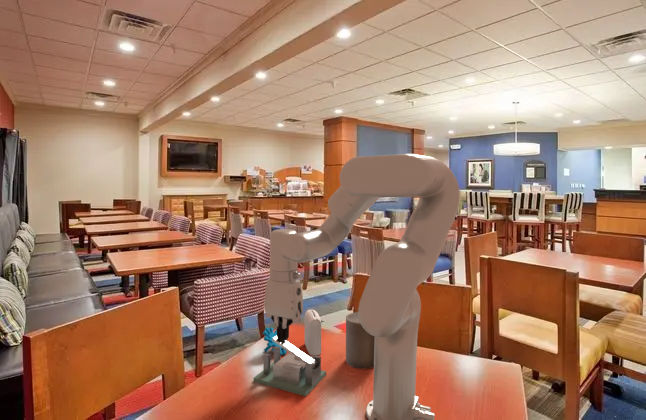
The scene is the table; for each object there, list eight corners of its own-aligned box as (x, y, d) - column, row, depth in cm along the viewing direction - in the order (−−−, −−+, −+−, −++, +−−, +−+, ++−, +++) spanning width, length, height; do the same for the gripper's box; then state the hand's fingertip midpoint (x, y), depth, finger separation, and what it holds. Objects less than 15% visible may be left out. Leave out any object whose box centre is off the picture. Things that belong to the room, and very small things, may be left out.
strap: (317, 364, 104) (318, 361, 103) (311, 370, 101) (313, 366, 101) (277, 337, 109) (278, 333, 108) (271, 341, 106) (272, 337, 106)
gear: (280, 356, 115) (260, 329, 118) (267, 368, 116) (247, 341, 119) (295, 346, 125) (276, 322, 128) (282, 357, 126) (264, 333, 129)
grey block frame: (323, 374, 106) (323, 354, 105) (309, 388, 99) (309, 367, 98) (277, 363, 112) (277, 344, 112) (261, 375, 105) (261, 355, 105)
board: (326, 374, 108) (326, 371, 108) (305, 396, 97) (305, 392, 97) (277, 362, 115) (277, 359, 115) (253, 381, 104) (253, 377, 104)
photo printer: (303, 342, 129) (303, 306, 128) (315, 341, 130) (316, 305, 129) (309, 356, 119) (309, 317, 118) (322, 355, 120) (322, 316, 119)
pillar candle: (384, 361, 116) (384, 312, 115) (364, 372, 109) (364, 321, 108) (358, 351, 123) (359, 305, 122) (338, 362, 116) (338, 313, 115)
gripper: (314, 275, 105) (313, 340, 106) (268, 268, 111) (267, 330, 113) (301, 282, 98) (299, 351, 100) (252, 274, 104) (252, 339, 106)
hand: (282, 340), depth 106 cm, fingers closed
